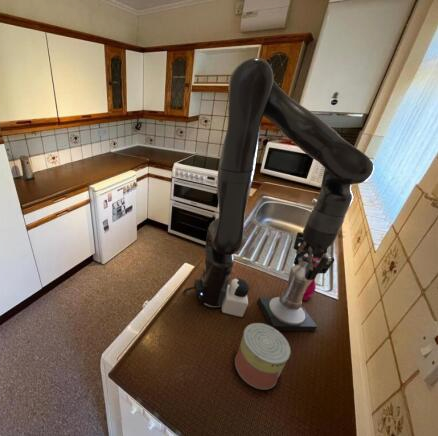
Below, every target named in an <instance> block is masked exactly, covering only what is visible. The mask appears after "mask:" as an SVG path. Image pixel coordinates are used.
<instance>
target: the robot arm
mask: <svg viewBox="0 0 438 436" xmlns="http://www.w3.org/2000/svg"><path fill="white" fill-rule="evenodd" d="M263 117H265V118H266V119H267V120H269V121H270V122H271V123H272V124H273V125H274V126H275V127H277V129H278V130H280V131H281V133H282V134H283V135H285V136H286V138H287V139H289V140H290V141H291V142H292V143H293V145H295V146H296V147H298V148H299V149H300V150H301V151H303V153H305V154H306V155H307V156H309V157H310V158H311V159H313V160H315V161H316V162H318V163H319V164H320V165H321V166H322V167H323V168H324V170H323V173H322V180H321V185H320V186H321V187H320V192H319V194H318V197H317V199H316V201H315V204H314V206H313V209H312V210H311V212H310V214H309V216H308V219H307V220H306V224H305V226H304V229H303V231H298V232H297V233H296V236H295V240H294V244H293V250H295V257H294V259H293V264H294V266H295V265H297V264H299V261H300V259H301V257H303V256H306V255H307V256H309V262H310V269H309V270H308V272H307V275H306V277H305V278H306V279H307V280H314V279H315V280H316V278H317V276H318V275H319V274H323V275H325V274H326V273H327V272H328V270H329V269H330V268H331V267H332V265H333V264H334V263H335V258H334V257H332V256H331V257H330V256H329V254H328V248H329V247H330V246H332V245H333V244H334V243H335V241H336V239H337V236H338V235H339V232H340V230H341V228H342V226H343V224H344V222H345V218H346V215H347V213H348V211H349V210H350V209H349V208H350V206H351V204H352V202H353V199H354V195H353V192H352V189H351V188H352V186H355V185H360V184H363V183H364V182H367V181H368V180H369V179H370V178H371V177H372V175H373V173H374V170H375V165H374V162H373V160H372V159H371V158H370V156H368V155H366V154H365V153H364V152H363V151H361V150H360V149H358V148H357V147H355V146H354V145H352V144H351V143H350V142H348V141H347V140H345V139H344V138H343V137H342V136H341V135H340V134H339V133H338V132H337V131H336V130H335V129H334V128H332V127H331V126H330V125H329V124H328V123H327V122H326V121H324V119H322V118H320V117H319V116H318V115H316V114H315V113H314V112H312V111H311V110H309V109H307V108H306V107H304V106H303V105H301V104H300V103H298V102H297V101H296V100H294V99H293V98H292V97H290V96H289V95H288V94H287V92H285V91H284V90H283V89H282V88H281V87H280V85H278V83H277V82H276V81H275V79H274V72H273V68H272V66H271V64H270V63H269V62H268V61H266V60H265V59H263V58H261V57H251V58H248V59H245V60H243V61H242V62H241V63H239V65H237V66H236V67H235V69H233V71H232V73H231V74H230V78H229V80H228V117H227V118H228V119H227V129H226V134H225V136H224V141H223V144H222V147H221V151H220V155H219V162H218V167H217V168H218V169H217V177H216V192H217V194H216V195H217V203H218V217H217V218H215V219H214V220H212V221H211V222H210V223H209V226H208V227H207V232H206V239H205V246H204V247H205V248H204V253H205V254H204V255H205V258H204V263H203V264H204V265H203V269H202V273H201V274H200V276H199V277H200V278H199V279H198V278H197V279H196V278H195V279H194V282H193V286H191V287H187V288H185V290H183V291H182V293H183V294H186V293H187V292H188V291H191V290H194V293H195V296H196V297H198V299H199V303H200V305H201V306H205V307H206V308H209V309H214V310H215V309H220V308H222V304H223V300H224V297H225V294H226V291H227V288H228V285H230V281H231V280H230V279H231V275H232V270H233V267H234V263H235V257H234V255H235V254H236V253H237V252H238V251H239V250H240V249H241V247H242V245H243V242H244V231H245V221H246V220H245V219H246V212H247V208H248V203H249V198H250V193H251V188H252V184H253V179H254V175H255V170H256V166H257V165H256V164H257V157H258V150H259V140H260V130H261V126H262V125H261V124H262V121H263ZM299 244H300V245H299ZM313 258H319V259H318V260H313ZM315 263H317V267H314V266H315ZM318 273H319V274H318ZM317 274H318V275H317Z"/></svg>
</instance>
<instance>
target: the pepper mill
mask: <svg viewBox="0 0 438 436" xmlns="http://www.w3.org/2000/svg"><path fill="white" fill-rule="evenodd" d="M306 257H309V256H308V255H306ZM318 259H319V258H313V260H318ZM314 267H317V263H315V266H314ZM319 274H320V273H318V274H317V276H318V275H319ZM316 287H317V285H316V278H315V279H314V280H313V281H312V282H311V283H310V285H309V286H308V287H307V289H306V291H305V293H304V296H303V299H302V301H308V300H310V298H311V295H313V294H314V293H315V291H316Z"/></svg>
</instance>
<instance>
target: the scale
mask: <svg viewBox="0 0 438 436" xmlns="http://www.w3.org/2000/svg"><path fill="white" fill-rule="evenodd" d="M279 298H280V296H277V297H273V296H272V297H270V296H269V297H263V296H260V297H258V299H257V303H258V306H259V307H260V309H261V312H262V314H263V315H264V317H265V320H266V322H267V325H269V326H271V327H273V328H275V329H276V330H278V331H279V332H315V331H316V329H317V328H318V325H317V324H316V323H315V321H314V320H313V319H312V317H311V315H310V314H309V313H308V311H307V310H306V309H305V307H304V305H303V303H302V304H301V307H300V308H299V310H297V311H294V312H291V311H287V310H285V309H284V308H283V307H282V306H281V305H280V302H279Z"/></svg>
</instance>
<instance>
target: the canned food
mask: <svg viewBox="0 0 438 436" xmlns="http://www.w3.org/2000/svg"><path fill="white" fill-rule="evenodd" d="M242 333H243V334H242V337H241V340H240V343H239V347H238V350H237V353H236V355H235V357H234V365H235V370H236V371H237V374H238V375H239V377H240V378H241V379H242V380H243V381H244V382H245V383H246V384H247V385H249V386H251V387H253V388H254V389H257V390H262V391H263V390H264V391H265V390H266V391H267V390H270V389H272V388H274V387H275V386H276V384H277V381H278V379H279V377H280V376H281V373H282V372H283V369H284V368H285V366H286V364H287V362H288V360H289V359H290V357H291V354H292V353H291V352H292V351H291V350H292V349H291V346H290V344H289V341H288V339H287V338H286V337H285V336H284V334H283V333H281V331H278V330H276V329H275V328H273V327H271V326H269V324H268V323H262V322H252V323H250V324H248V325H247V326H246V327H245V328H244V329H243V332H242Z"/></svg>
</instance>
